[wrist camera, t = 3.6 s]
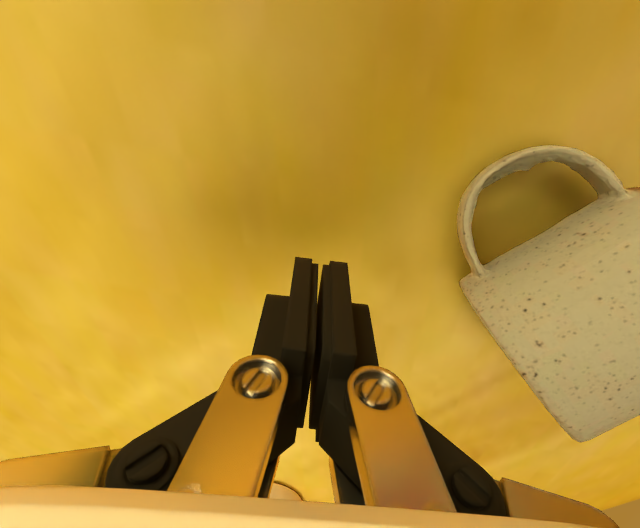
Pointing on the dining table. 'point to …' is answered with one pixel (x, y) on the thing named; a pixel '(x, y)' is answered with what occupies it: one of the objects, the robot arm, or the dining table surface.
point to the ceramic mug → (566, 297)
